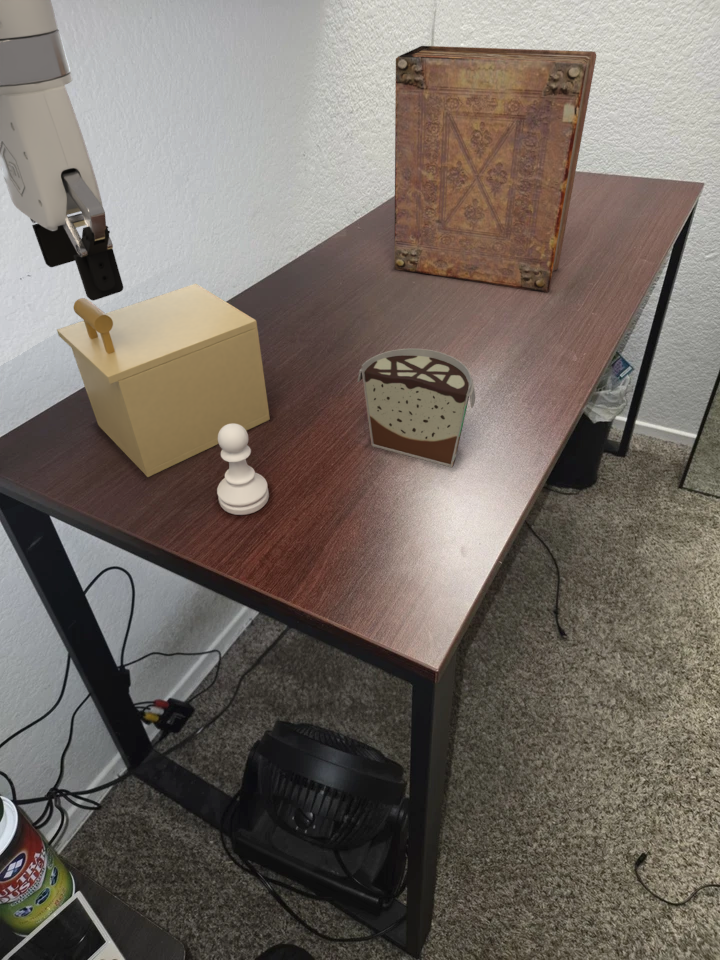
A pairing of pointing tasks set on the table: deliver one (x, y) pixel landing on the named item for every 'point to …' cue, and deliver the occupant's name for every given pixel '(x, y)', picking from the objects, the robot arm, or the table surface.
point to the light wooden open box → (181, 402)
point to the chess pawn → (239, 474)
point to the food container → (417, 402)
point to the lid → (152, 330)
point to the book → (487, 160)
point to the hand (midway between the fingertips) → (84, 278)
